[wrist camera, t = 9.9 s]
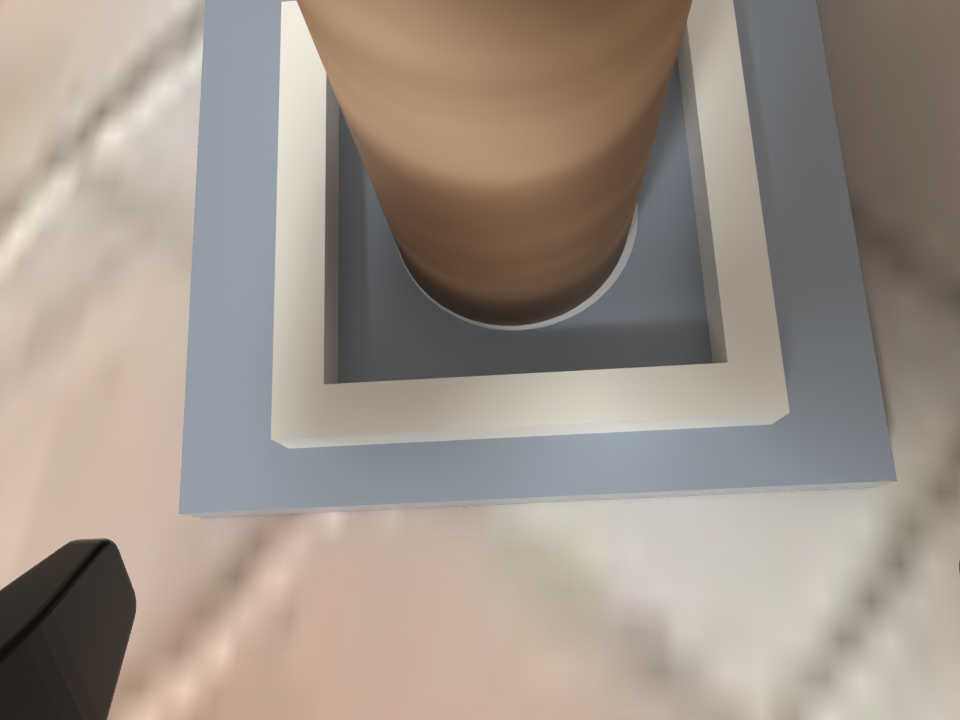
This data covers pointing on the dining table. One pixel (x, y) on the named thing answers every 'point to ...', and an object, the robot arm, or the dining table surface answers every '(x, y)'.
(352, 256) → the baseplate
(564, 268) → the walnut column
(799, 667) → the dining table surface
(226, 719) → the dining table surface
